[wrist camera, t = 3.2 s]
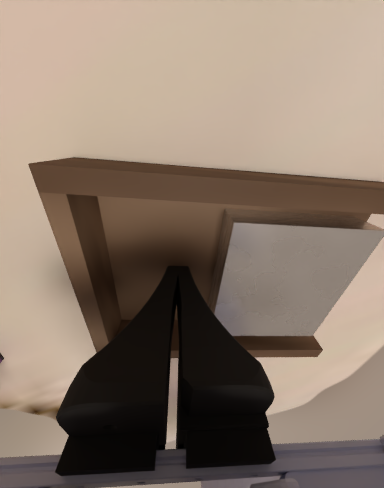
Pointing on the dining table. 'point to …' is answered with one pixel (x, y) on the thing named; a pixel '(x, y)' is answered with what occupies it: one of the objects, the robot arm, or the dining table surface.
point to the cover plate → (285, 269)
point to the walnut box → (170, 231)
